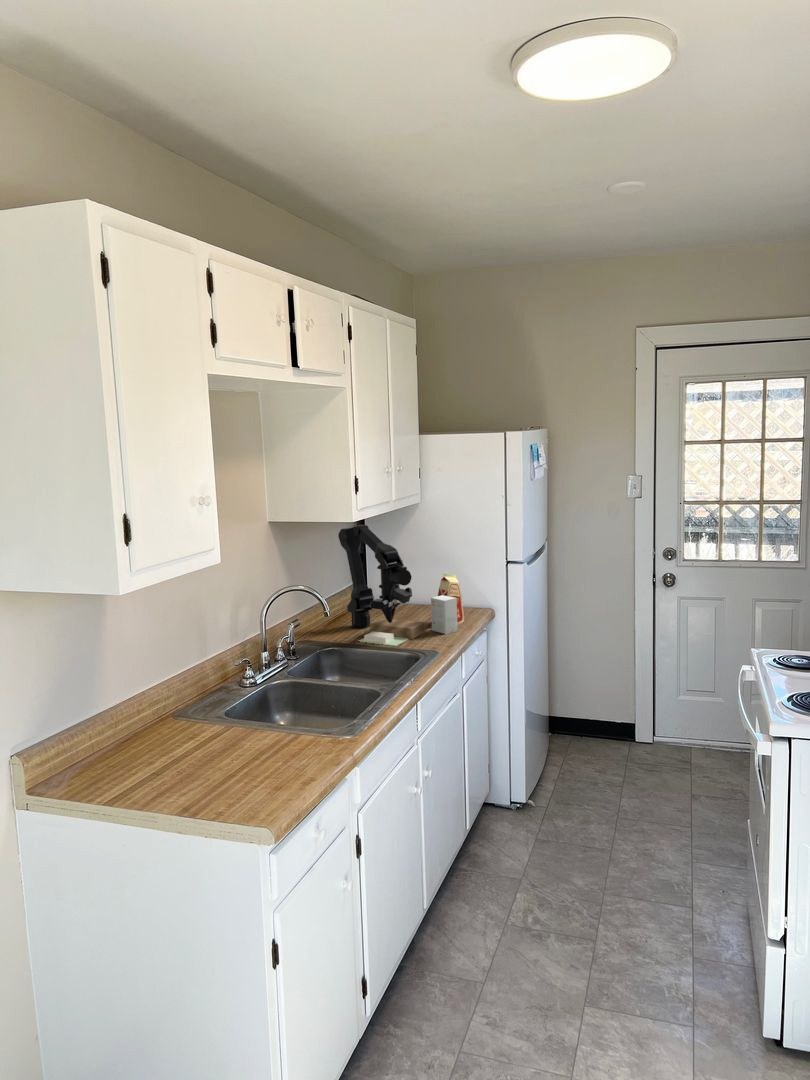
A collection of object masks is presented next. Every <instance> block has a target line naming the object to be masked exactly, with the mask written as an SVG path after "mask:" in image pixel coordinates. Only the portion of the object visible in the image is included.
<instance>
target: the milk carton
mask: <svg viewBox="0 0 810 1080" xmlns="http://www.w3.org/2000/svg"><path fill="white" fill-rule="evenodd" d="M442 595H444V596H449V597H453V598H457V625H459V624H463V622H464V623H465V617H464V616H465V615H464V614H465V613H464V605H463V598H462V597H463V596H462V591H461V585H460V582H459V580H458V579H457V574H447V573H443V577H442V578H441V580H440V582H439V588H438V591H437V596H442Z"/></svg>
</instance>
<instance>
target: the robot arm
mask: <svg viewBox="0 0 810 1080" xmlns="http://www.w3.org/2000/svg"><path fill="white" fill-rule="evenodd" d="M337 537H338V540H339V544H340V546H341V547H342V548H343V550H345V552H346V556H347V561H348V567H349V572H350V576H351V582H352V585H353V586H352V590H351V592H350V599H351V600H350V601H349V602H348V605H346V609H347V612H348V613H351V625H349V627H350V628H357V629H365V628H368V627H370V624H371V615H370V611H372V610H373V609H374V610H381V612H382V613H383V615H384V618H386V619H387V621H388V622H389V623H391V622H392V620H393V619H394V616H395V613H396V609H397V608H398V606H399V605H401V604H407V603H409V602H410V599H411V598H412V597H413V592H412V588H411V587H406V588H405V589H404V588H400V586H407V585H409V584H410V583H411V581H412V574H411V572H410V571H409V569H408V567H407V566H404V562H403V559H402V558H401V556H400V554H399V552H398V550H397V548H395V547H394V546H392V545H390V544H387V543H385V542H383V541H382V540H381V539H380V538H379V537H378V536H377V535H376V534H375V533H374V532H373V531H372V530H371V529H370V528H369V526H368V525H367V524H359V525H355V526H353V527H346V528H341V529H340V530H339V532H338V536H337ZM362 542H363V543H364V544H365V545H367V547H368V548H369V549H370V550H371V551H372V552H373V553H374V558H375V560H376V561H377V562H378V563H379V565H378V566H377V567H376V569H377V570H380V582H381V583H380V584H379V585H378V589H380V590H381V592H380V593H381V595H379V598H375V597H374V593H373V589H372V588H371V587H370V588H369V586H368V585H367V584H366V580H365V579H366V578H365V574H364V569H363V565H362V559H361V555H360V546H361V543H362ZM407 569H408V570H407Z"/></svg>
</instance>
